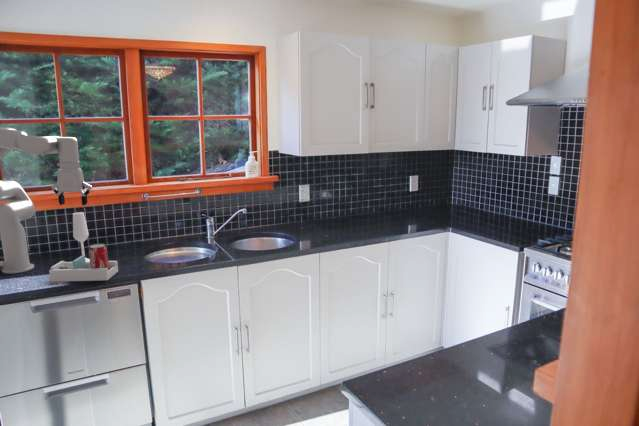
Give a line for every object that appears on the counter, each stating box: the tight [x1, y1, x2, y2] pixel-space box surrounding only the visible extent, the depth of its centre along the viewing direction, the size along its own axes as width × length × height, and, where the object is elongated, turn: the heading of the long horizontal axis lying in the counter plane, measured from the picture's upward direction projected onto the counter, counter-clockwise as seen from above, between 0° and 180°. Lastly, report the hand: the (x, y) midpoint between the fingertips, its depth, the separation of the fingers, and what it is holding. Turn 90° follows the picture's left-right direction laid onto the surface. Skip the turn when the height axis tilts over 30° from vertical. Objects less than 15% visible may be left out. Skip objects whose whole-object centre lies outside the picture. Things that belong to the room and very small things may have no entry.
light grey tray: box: [48, 260, 119, 283], centre depth 204 cm, size 24×12×6 cm, turn 92°
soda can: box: [88, 243, 109, 270], centre depth 204 cm, size 7×7×13 cm
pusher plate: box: [71, 255, 86, 269], centre depth 204 cm, size 2×8×7 cm, turn 2°
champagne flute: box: [72, 211, 90, 262], centre depth 225 cm, size 7×7×24 cm
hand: (73, 204), depth 206 cm, fingers open, 9 cm apart
